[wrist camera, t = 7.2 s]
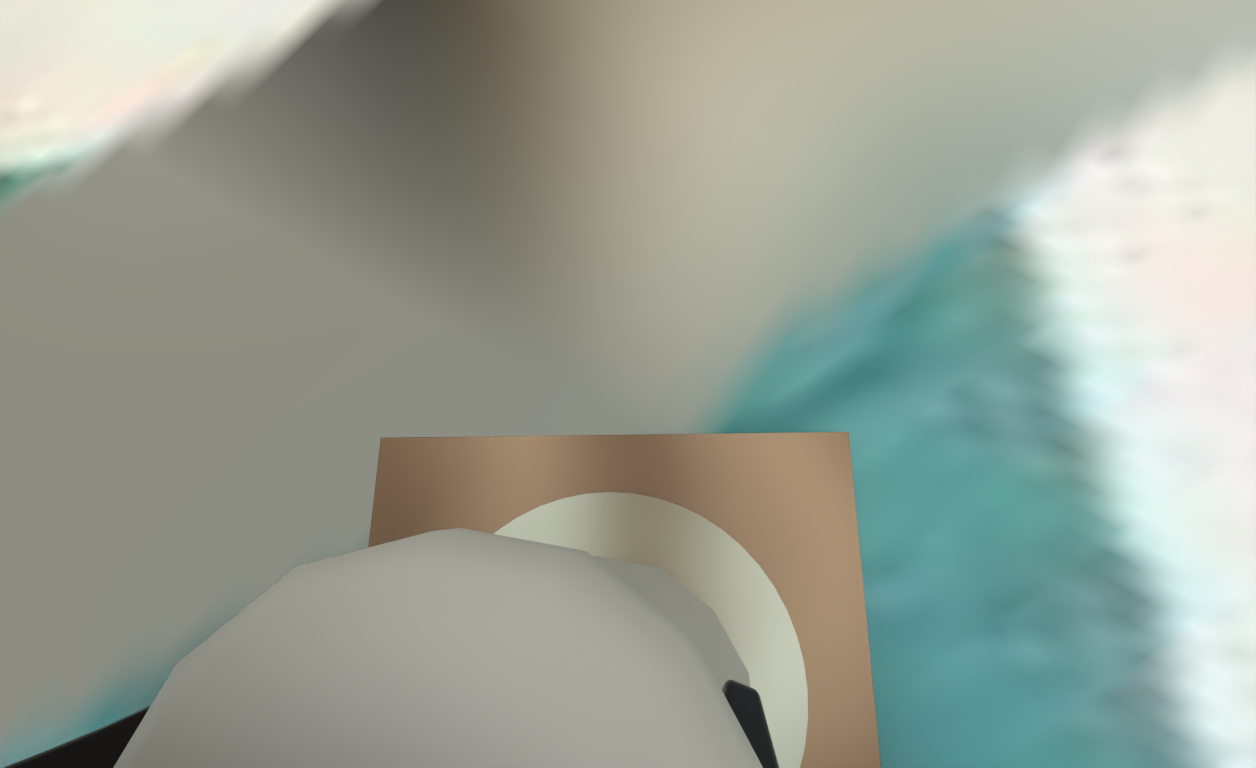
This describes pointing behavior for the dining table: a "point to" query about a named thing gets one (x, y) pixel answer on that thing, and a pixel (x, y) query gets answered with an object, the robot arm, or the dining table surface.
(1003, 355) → the dining table surface
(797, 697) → the brown coaster
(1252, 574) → the dining table surface
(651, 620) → the salt shaker
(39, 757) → the robot arm
